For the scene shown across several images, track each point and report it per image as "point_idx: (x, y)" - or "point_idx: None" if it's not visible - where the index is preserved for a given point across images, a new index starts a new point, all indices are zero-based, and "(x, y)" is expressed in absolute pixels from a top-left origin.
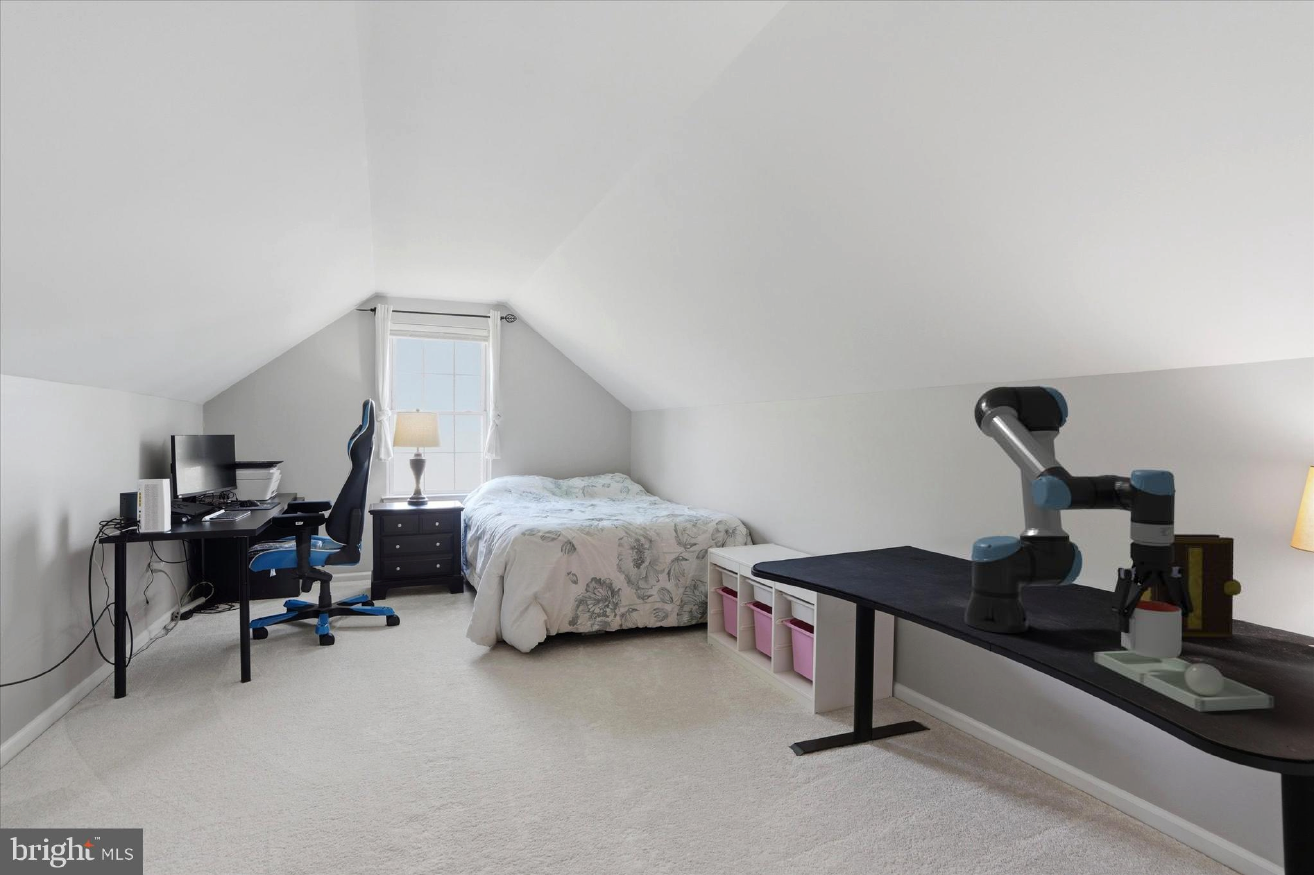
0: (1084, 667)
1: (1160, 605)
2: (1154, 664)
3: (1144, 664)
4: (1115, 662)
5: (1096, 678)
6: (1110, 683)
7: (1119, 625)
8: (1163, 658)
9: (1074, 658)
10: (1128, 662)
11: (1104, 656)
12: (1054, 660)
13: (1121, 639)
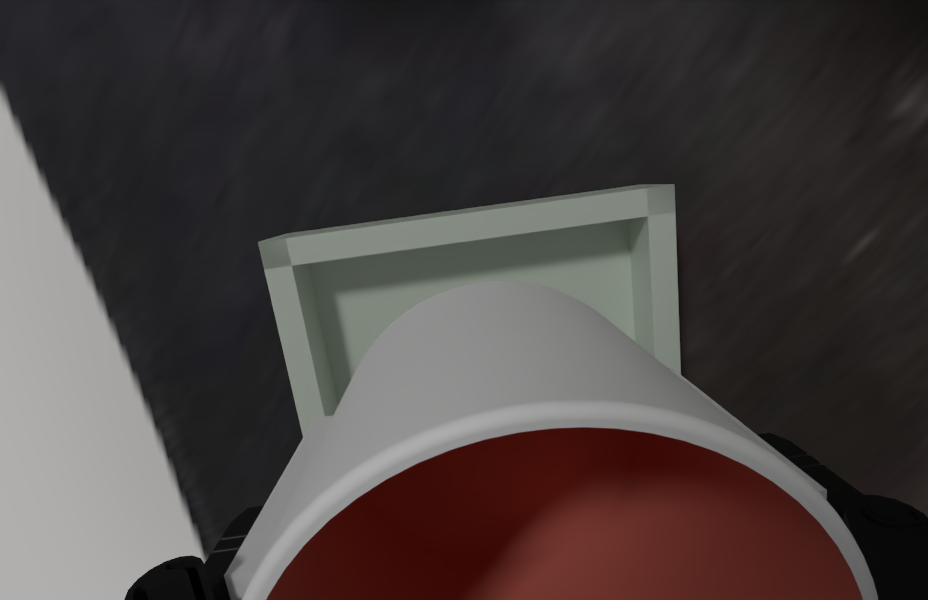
0: (228, 248)
1: (804, 517)
2: (570, 279)
3: (518, 281)
4: (296, 396)
5: (215, 390)
6: (249, 444)
7: (219, 550)
8: (484, 521)
9: (241, 105)
10: (453, 252)
11: (279, 317)
12: (110, 142)
13: (302, 441)
